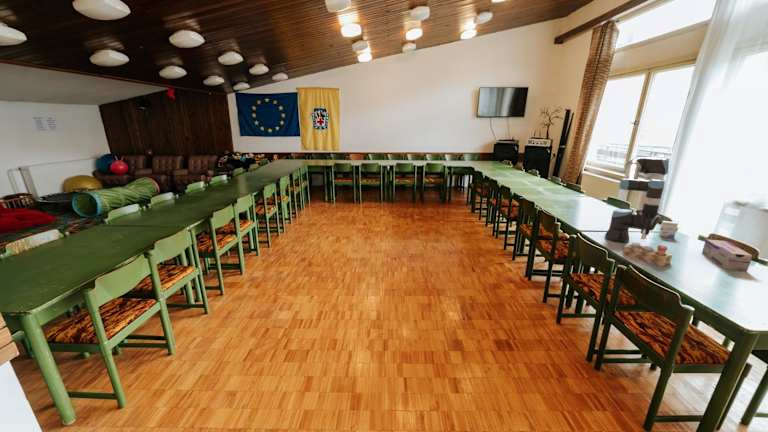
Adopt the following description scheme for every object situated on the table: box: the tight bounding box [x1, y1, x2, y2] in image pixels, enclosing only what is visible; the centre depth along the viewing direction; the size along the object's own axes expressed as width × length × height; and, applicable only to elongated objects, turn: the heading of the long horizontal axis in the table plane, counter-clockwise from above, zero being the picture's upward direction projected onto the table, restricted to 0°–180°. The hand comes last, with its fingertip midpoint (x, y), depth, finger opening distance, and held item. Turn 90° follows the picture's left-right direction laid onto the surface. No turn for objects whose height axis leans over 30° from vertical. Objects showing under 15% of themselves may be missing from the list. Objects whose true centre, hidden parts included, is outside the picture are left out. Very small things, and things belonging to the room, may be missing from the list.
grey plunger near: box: [631, 242, 642, 249], centre depth 211 cm, size 5×5×8 cm
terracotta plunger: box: [657, 245, 668, 256], centre depth 198 cm, size 5×5×8 cm
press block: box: [622, 243, 673, 268], centre depth 205 cm, size 22×10×6 cm, turn 27°
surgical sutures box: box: [701, 238, 753, 273], centre depth 198 cm, size 25×11×11 cm, turn 158°
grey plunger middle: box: [643, 245, 654, 252], centre depth 205 cm, size 5×5×8 cm
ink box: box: [658, 220, 679, 239], centre depth 243 cm, size 9×5×12 cm, turn 58°
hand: (643, 238), depth 205 cm, fingers closed
